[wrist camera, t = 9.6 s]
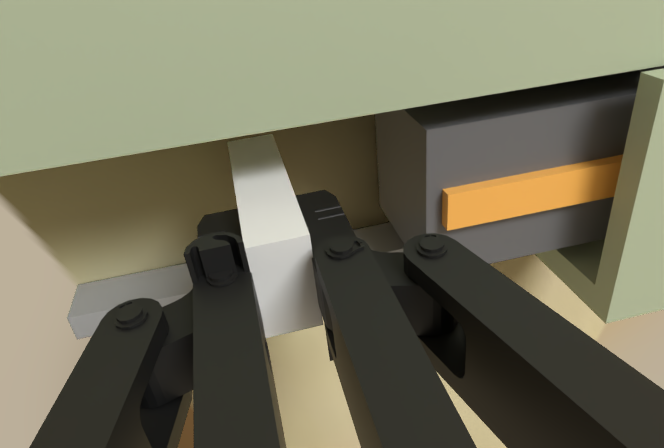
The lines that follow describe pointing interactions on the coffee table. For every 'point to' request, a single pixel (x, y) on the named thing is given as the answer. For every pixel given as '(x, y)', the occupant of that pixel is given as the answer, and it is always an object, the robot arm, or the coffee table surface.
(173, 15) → the green wheeled box
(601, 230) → the orange striped grey block
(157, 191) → the coffee table surface
